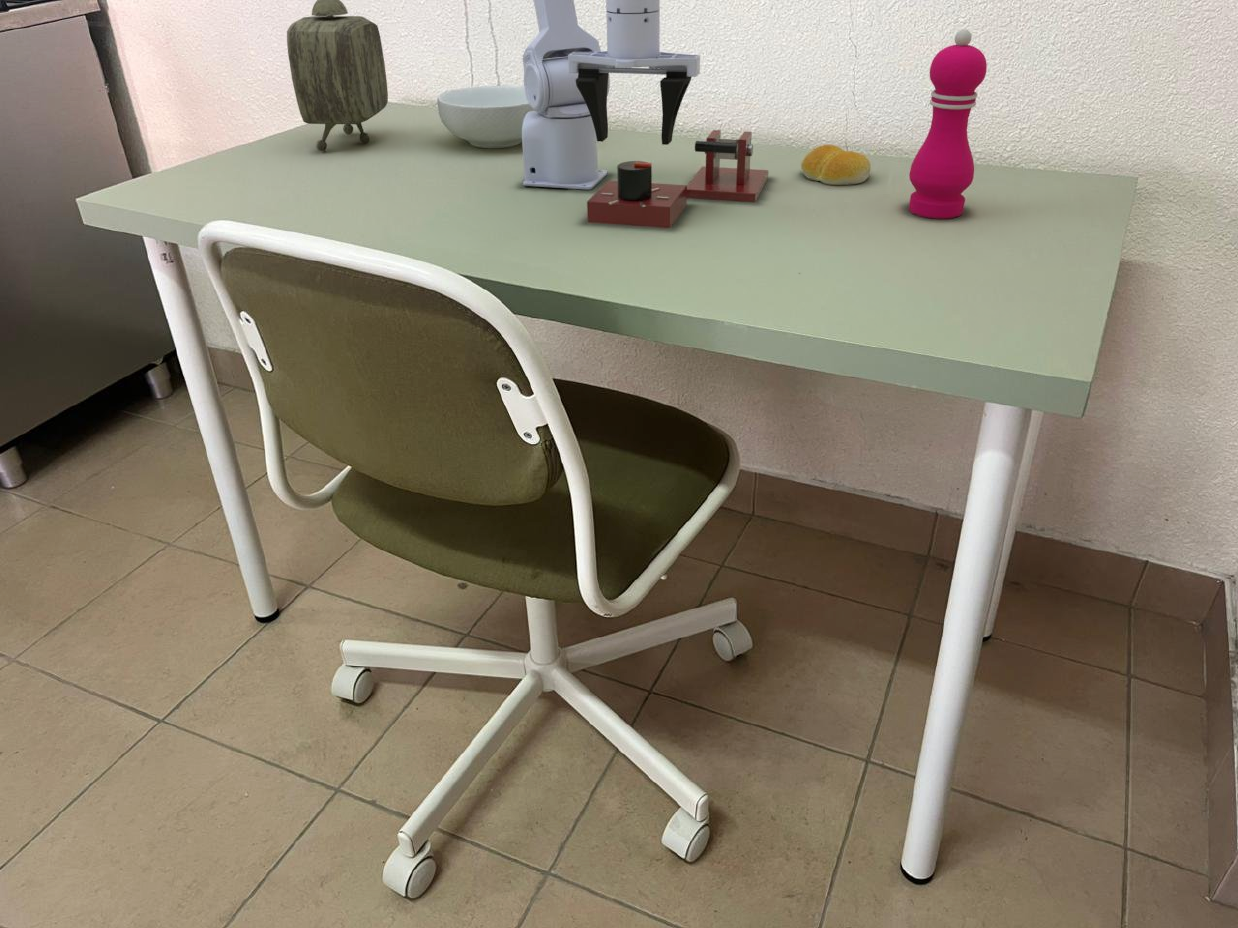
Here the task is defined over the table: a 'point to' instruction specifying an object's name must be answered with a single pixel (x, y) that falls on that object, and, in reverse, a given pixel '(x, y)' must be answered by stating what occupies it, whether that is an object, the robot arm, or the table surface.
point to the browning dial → (634, 180)
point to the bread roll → (835, 166)
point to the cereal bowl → (485, 114)
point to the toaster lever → (719, 148)
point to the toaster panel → (638, 206)
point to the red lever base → (728, 175)
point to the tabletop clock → (337, 69)
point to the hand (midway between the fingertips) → (634, 141)
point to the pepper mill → (948, 132)
